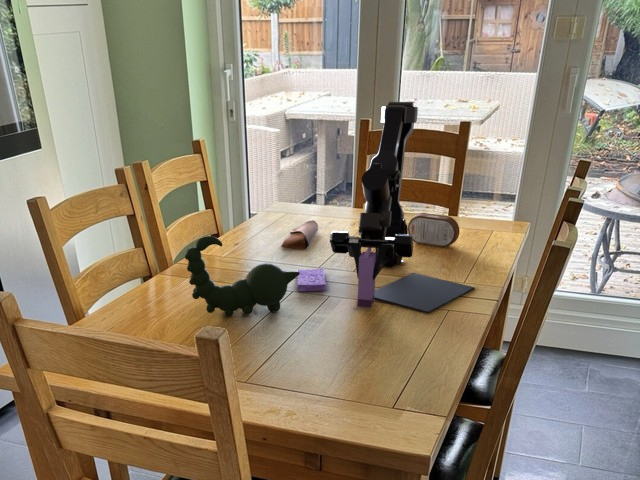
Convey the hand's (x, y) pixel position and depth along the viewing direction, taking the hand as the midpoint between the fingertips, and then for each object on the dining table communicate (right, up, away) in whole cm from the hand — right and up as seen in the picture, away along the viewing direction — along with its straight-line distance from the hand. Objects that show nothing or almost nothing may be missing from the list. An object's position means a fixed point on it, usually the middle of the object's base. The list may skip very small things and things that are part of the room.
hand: (365, 278), depth 163 cm
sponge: (-12, +4, +20) cm, 23 cm away
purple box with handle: (+1, -5, +5) cm, 7 cm away
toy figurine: (-28, -7, +4) cm, 29 cm away
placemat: (+15, 0, +12) cm, 19 cm away
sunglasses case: (-14, +25, +51) cm, 59 cm away
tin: (+24, +22, +45) cm, 55 cm away
